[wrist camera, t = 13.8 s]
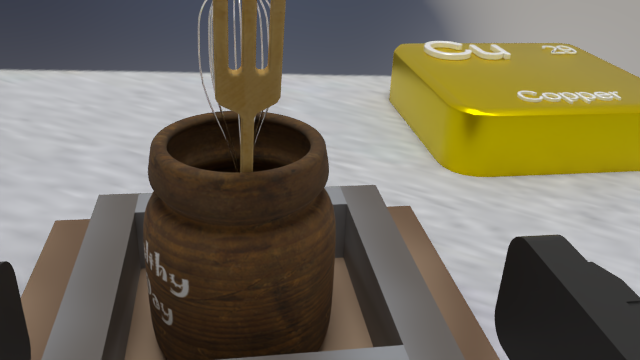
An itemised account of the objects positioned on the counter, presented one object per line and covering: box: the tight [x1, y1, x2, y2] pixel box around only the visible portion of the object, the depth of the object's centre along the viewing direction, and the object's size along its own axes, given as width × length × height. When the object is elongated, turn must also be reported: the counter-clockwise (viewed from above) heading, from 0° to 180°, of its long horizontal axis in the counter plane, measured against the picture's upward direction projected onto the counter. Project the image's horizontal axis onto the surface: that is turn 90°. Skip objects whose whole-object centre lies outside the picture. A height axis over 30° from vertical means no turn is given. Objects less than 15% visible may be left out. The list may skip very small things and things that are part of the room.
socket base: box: [21, 185, 500, 360], centre depth 20 cm, size 16×16×4 cm
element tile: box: [389, 41, 640, 177], centre depth 41 cm, size 15×15×5 cm
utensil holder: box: [143, 0, 336, 360], centre depth 18 cm, size 6×6×12 cm
